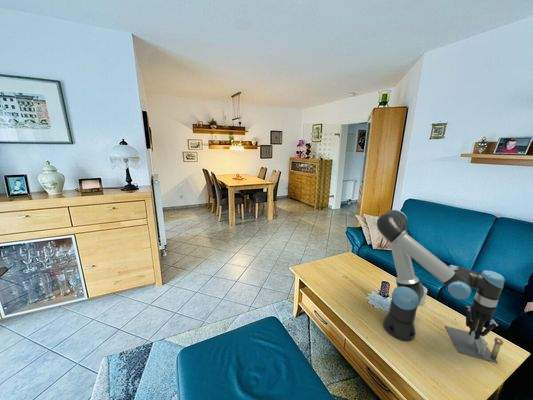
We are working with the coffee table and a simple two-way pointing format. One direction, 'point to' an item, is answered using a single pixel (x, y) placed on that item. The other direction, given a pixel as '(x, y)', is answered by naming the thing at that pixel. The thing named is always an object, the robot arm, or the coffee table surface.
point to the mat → (467, 344)
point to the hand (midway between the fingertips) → (471, 342)
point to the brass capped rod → (496, 348)
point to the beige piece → (481, 345)
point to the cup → (423, 296)
